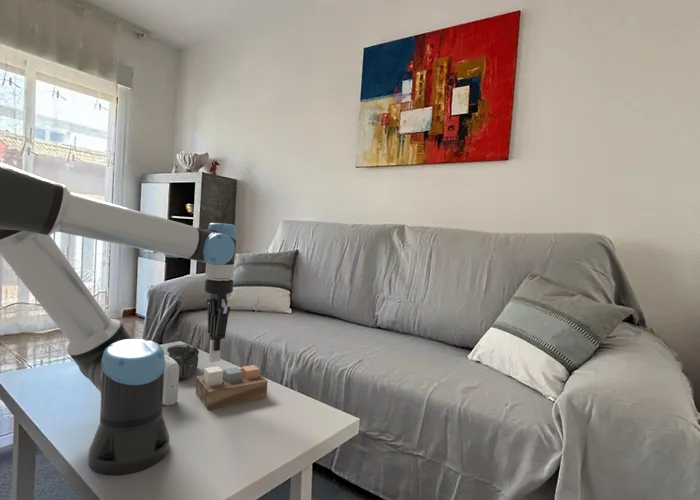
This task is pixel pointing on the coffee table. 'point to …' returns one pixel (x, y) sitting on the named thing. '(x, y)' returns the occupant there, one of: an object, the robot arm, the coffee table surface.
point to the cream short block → (213, 376)
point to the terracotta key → (250, 372)
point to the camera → (184, 359)
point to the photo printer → (170, 381)
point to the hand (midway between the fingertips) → (214, 360)
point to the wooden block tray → (230, 391)
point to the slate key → (231, 375)
